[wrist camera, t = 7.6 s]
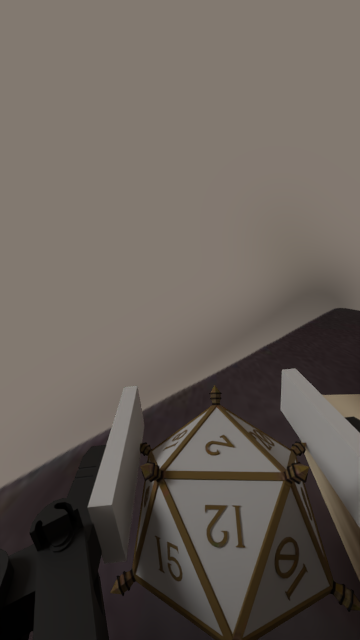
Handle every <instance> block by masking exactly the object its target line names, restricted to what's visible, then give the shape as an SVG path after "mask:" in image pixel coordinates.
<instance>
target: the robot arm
mask: <svg viewBox="0 0 360 640" xmlns="http://www.w3.org/2000/svg"><path fill="white" fill-rule="evenodd" d="M281 411H282V412H283V414H284V415H285V417H286V418H287V420H288V421H289V423H290V424H291V426H292V427H293V429H294V430H295V432H296V433H297V435H298V436H299V438H300V439H301V441H302V442H303V443H306V448H307V450H308V451H309V453H310V454H311V456H312V457H313V459H314V460H315V462H316V463H317V465H318V466H319V468H320V469H321V471H322V472H323V474H324V475H325V477H326V478H327V480H328V481H329V483H330V484H331V486H332V487H333V489H334V490H335V492H336V493H337V495H338V496H339V498H340V499H341V501H342V502H343V504H344V505H345V507H346V508H347V510H348V511H349V513H350V514H351V516H352V517H353V519H354V520H355V522H356V523H357V525H358V526H359V528H360V420H359V419H357V418H356V417H354V416H353V417H343V416H342V415H341V414H340V413H339V412H338V411H337V410H336V409H335V408H334V407H333V406H332V405H331V404H330V403H329V402H328V401H327V400H326V399H325V398H324V397H323V396H322V395H321V394H320V393H319V392H318V391H317V390H316V389H315V388H314V387H313V386H312V385H311V384H310V383H309V382H308V381H307V380H306V379H305V378H304V377H303V376H302V375H301V374H300V373H299V372H298V371H297V370H296V369H286V370H282V386H281ZM143 431H144V420H143V415H142V409H141V404H140V398H139V392H138V386H130V387H124V390H123V393H122V396H121V399H120V402H119V406H118V409H117V412H116V416H115V419H114V422H113V425H112V429H111V432H110V435H109V438H108V442H107V445H101V446H93V447H91V448H90V449H89V450H88V451H87V453H86V454H85V455H84V456H83V458H82V461H81V463H80V466H79V470H78V471H77V473H76V476H75V480H74V481H73V483H72V486H71V489H70V491H69V494H68V496H67V498H62V499H59V500H56V501H53V502H52V503H50V504H49V505H47V506H46V507H45V508H44V509H43V510H42V511H41V512H40V513H39V514H38V515H37V516H36V518H35V520H34V521H33V523H32V526H31V529H30V535H31V538H32V540H33V543H34V544H33V545H31V546H29V547H27V548H25V549H23V550H20V551H18V552H16V553H14V554H12V555H10V556H8V554H7V552H6V551H4V550H2V549H0V640H28V639H29V634H30V632H31V631H33V640H109V636H108V629H107V623H106V616H105V609H104V602H103V595H102V589H101V582H100V576H99V573H98V568H99V563H100V558H101V554H102V557H103V561H104V564H105V563H114V562H122V561H126V559H127V552H128V544H129V537H130V529H131V522H132V514H133V506H134V499H135V491H136V484H137V476H138V468H139V461H140V444H141V443H142V438H143Z"/></svg>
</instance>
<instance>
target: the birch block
mask: <svg viewBox="0 0 360 640" xmlns="http://www.w3.org/2000/svg"><path fill="white" fill-rule="evenodd" d="M322 396H323V397H324V398H325V399H326V400H327V401H328V402H329V403H330V404H331V405H332V406H333V407H334V408H335V409H336V410H337V411H338V412H339V413H340V414H341V415H342V416H343V417H353V416H354V417H356V418H357V419H359V420H360V394H354V395H322ZM301 443H303V442H302V441H301ZM305 449H306V451H305V453H304V454H305V456H306V459H307V461H308V463H309V465H310V468H311V470H312V472H313V475H314V477H315V479H316V482H317V484H318V486H319V489H320V491H321V493H322V496H323V498H324V500H325V502H326V505H327V507H328V509H329V512H330V514H331V516H332V519H333V521H334V523H335V526H336V528H337V530H338V533H339V535H340V537H341V539H342V542H343V544H344V546H345V549H346V551H347V553H348V556H349V558H350V560H351V563H352V565H353V567H354V570H355V572H356V574H357V576H358V579H359V581H360V528H359V526H358V525H357V523H356V522H355V520H354V519H353V517H352V516H351V514H350V513H349V511H348V510H347V508H346V507H345V505H344V504H343V502H342V501H341V499H340V498H339V496H338V495H337V493H336V492H335V490H334V489H333V487H332V486H331V484H330V483H329V481H328V480H327V478H326V477H325V475H324V474H323V472H322V471H321V469H320V468H319V466H318V465H317V463H316V462H315V460H314V459H313V457H312V456H311V454H310V453H309V451H308V450H307V448H306V447H305Z"/></svg>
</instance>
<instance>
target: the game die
mask: <svg viewBox="0 0 360 640" xmlns="http://www.w3.org/2000/svg"><path fill="white" fill-rule="evenodd" d="M209 394H211V398H210V399H211V400H212V403H213V404H212V406H211V407H209V408H208V409H207V410H205V411H204V412H202V413H201V414H200V415H198V416H197V417H196V418H194V419H193V420H192V421H190V422H189V423H188V424H186V425H185V426H183V427H182V428H181V429H179V430H178V431H177V432H175V433H174V434H173V435H171V436H170V437H169V438H167V439H166V440H165V441H163V442H162V443H160V444H159V445H158V446H156V447H155V448H154V449H151V448H150V445H147V443H141V444H140V453H143V455H144V456H145V455H147V456H148V461H147V463H146V464H144V465H142V466H140V467H141V469H142V474H143V477H144V479H145V482H144V489H143V496H142V503H141V510H140V517H139V524H138V531H137V538H136V545H135V552H134V559H133V566H132V569H131V571H129V572H125V571H124V572H123V574H122V575H121V576H117V580H116V582H115V584H114V586H113V588H112V590H111V592H110V593H116V594H122V596H123V595H124V592H125V591H127V590H128V591H129V590H130V587H131V585H132V584H133V582H135V581H137V582H138V583H139V584H141V585H142V586H143V587H145V588H146V589H147V590H149V591H150V592H151V593H153V594H154V595H156V596H157V597H158V598H160V599H161V600H162V601H164V602H165V603H166V604H168V605H169V606H170V607H172V608H173V609H175V610H176V611H177V612H179V613H180V614H181V615H183V616H184V617H185V618H187V619H188V620H189V621H191V622H192V623H193V624H195V625H196V626H198V627H199V628H200V629H202V630H203V631H204V632H206V633H207V634H208V635H210V636H211V637H212V638H214V639H215V640H257V639H258V638H260V637H262V636H263V635H265V634H266V633H268V632H270V631H271V630H273V629H274V628H276V627H278V626H279V625H281V624H282V623H284V622H285V621H287V620H289V619H290V618H292V617H293V616H295V615H297V614H298V613H300V612H301V611H303V610H305V609H306V608H308V607H309V606H311V605H312V604H314V603H316V602H317V601H319V600H320V599H322V598H324V597H325V596H327V595H328V594H330V593H331V594H333V595H334V596H335V597H336V598H337V599H338V600H339V604H340V605H341V604H343V605H344V606H345V607H347V610H348V611H349V612H350V610H360V602H359V601H358V599H357V598H356V596H355V595H354V591H353V590H352V589H351V590H349V589H347V588H346V587H345V585H344V584H342V585H340V584H338V583H336V582H335V581H334V580H333V578H332V574H331V571H330V568H329V564H328V561H327V558H326V554H325V551H324V548H323V544H322V541H321V538H320V534H319V531H318V528H317V524H316V521H315V518H314V514H313V511H312V508H311V504H310V501H309V498H308V494H307V491H306V488H305V484H304V483H306V479H307V475H308V473H307V472H308V469H309V467H307V466H305V465H302V464H301V463H300V462H298V461H297V458H296V456H297V455H299V456H301V454H302V453H305V451H306V449H305V447H306V443H301V442H295V444H292V448H291V449H289V448H287V447H286V446H284V445H283V444H281V443H280V442H278V441H276V440H275V439H273V438H272V437H270V436H268V435H267V434H265V433H264V432H262V431H261V430H259V429H257V428H256V427H254V426H253V425H251V424H250V423H248V422H246V421H245V420H243V419H242V418H240V417H238V416H237V415H235V414H234V413H232V412H231V411H229V410H227V409H226V408H224V407H223V406H221V405H220V399H221V398H220V394H221V393H220V392H219V390H218V389H217V387H216V386H215V385H214V387H213V389H212V391H211V393H209Z"/></svg>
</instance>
